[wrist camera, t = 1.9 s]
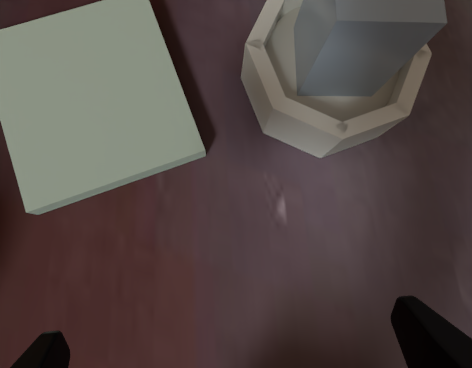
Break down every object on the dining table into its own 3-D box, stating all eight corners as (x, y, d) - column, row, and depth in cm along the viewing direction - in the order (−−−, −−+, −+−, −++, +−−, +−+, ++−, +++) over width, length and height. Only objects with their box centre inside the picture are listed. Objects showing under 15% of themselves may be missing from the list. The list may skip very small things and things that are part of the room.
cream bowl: (413, 124, 25) (455, 98, 21) (279, 173, 24) (293, 157, 20) (354, 1, 27) (380, -47, 23) (225, 41, 26) (227, -1, 21)
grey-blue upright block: (371, 96, 22) (447, 22, 15) (297, 95, 22) (336, 20, 15) (365, 28, 23) (433, -73, 16) (293, 27, 23) (329, -77, 16)
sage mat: (206, 155, 24) (205, 150, 23) (38, 214, 23) (26, 212, 21) (148, 3, 26) (144, -12, 24) (-9, 48, 25) (-23, 36, 23)
